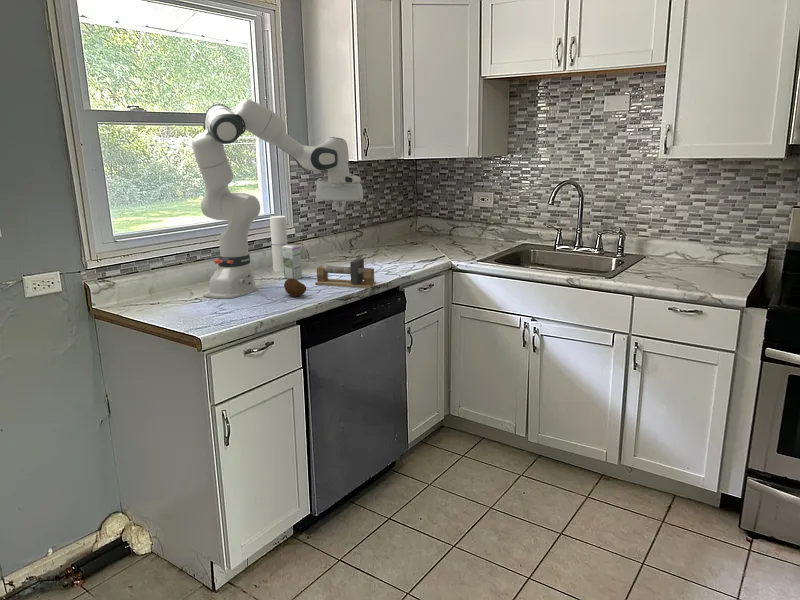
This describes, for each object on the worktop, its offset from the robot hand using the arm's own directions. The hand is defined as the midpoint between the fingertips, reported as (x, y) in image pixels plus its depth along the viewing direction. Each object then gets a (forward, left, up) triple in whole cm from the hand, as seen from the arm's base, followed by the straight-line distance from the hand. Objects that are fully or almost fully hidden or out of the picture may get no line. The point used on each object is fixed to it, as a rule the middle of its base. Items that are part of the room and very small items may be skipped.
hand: (340, 211), depth 254 cm
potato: (-30, +8, -30) cm, 43 cm away
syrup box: (-2, +23, -30) cm, 37 cm away
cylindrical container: (+11, +36, -30) cm, 48 cm away
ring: (-7, -10, -28) cm, 30 cm away
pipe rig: (-7, -4, -30) cm, 31 cm away
